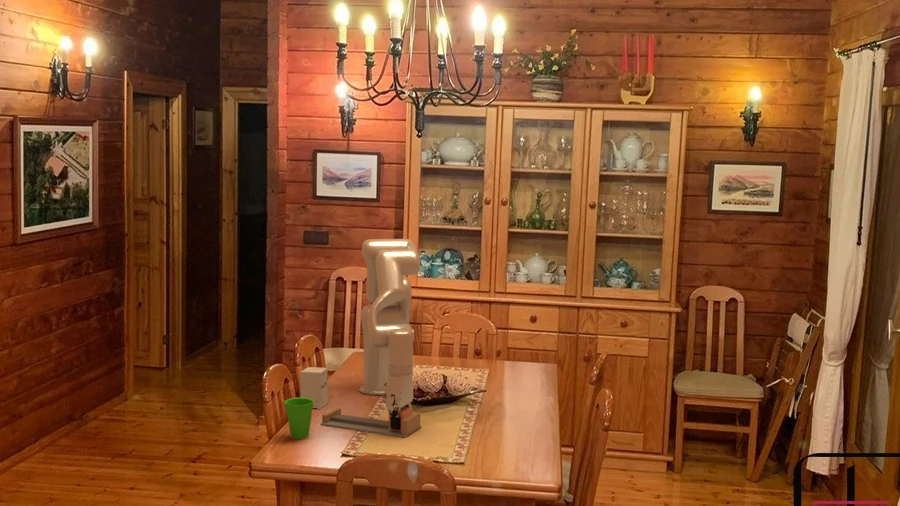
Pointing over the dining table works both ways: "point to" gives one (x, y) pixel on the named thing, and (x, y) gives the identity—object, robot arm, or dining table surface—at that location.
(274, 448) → the dining table surface
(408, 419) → the track
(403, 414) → the orange cube
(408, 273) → the robot arm
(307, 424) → the cup
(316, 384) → the supplement box
